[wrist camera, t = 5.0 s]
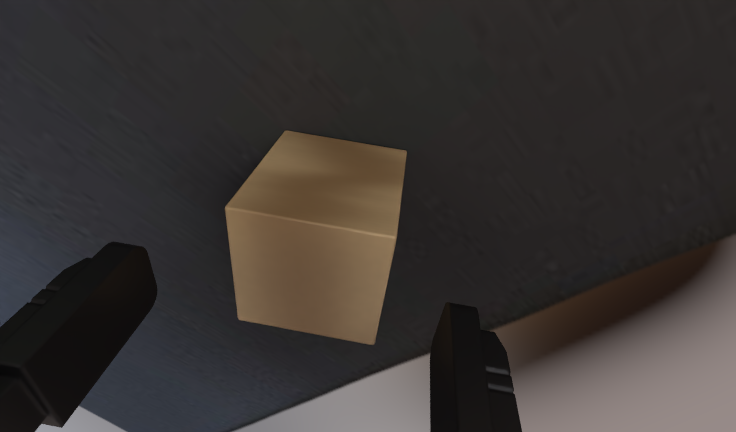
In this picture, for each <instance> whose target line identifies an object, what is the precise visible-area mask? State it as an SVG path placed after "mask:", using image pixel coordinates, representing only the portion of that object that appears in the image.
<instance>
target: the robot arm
mask: <svg viewBox="0 0 736 432" xmlns="http://www.w3.org/2000/svg"><path fill="white" fill-rule="evenodd" d="M156 296H157V285H156V281H155V278H154V274H153V270H152V267H151V263H150V260H149V256H148V253H147V250H146V249H145V248H144V247H141V246H135V245H130V244H124V243H119V242H111V243H108V244H107V245H106V246H104V247H103V248H102V249H101V250H100V251H99V252H98V253H97V254H96V255H95V256H94V257H93V258H85V259H83V260H81V261H80V262H78V263H76V264H74V265H72V266H70V267H68V268H67V269H65V270H63V271H62V272H61V273H60V274H59V275H58V276H57V277H55V278H54V279H53V280H52V281H51V282H50V283H49V284H48V285H47V286H46V289H42V290H41V291H40V292H39V293H38V294H37V295H36V296H34V297H33V298H32V301H31V302H30V303H27V304H26V305H24V306H23V307H22V308H21V309H20V310H19V311H18V312H17V313H16V314H14V315H13V316H12V317H11V318H10V319H9V320H8V321H7V322H6V323H5V324H3V325H2V326H1V327H0V432H35V431H36V429H37V428H38V427H39V426H40V425H41V424H46V425H51V426H57V427H61V428H62V427H63V426H64V424H65V423H66V422H67V420H68V419H69V418H70V416H71V415H72V414H73V412H74V411H75V410H76V408H77V407H78V406H79V404H80V403H81V402H82V400H83V399H84V398H85V396H86V395H87V394H88V392H89V391H90V390H91V388H92V387H93V386H94V384H95V383H96V382H97V380H98V379H99V378H100V376H101V375H102V374H103V372H104V371H105V370H106V368H107V367H108V366H109V364H110V363H111V362H112V360H113V359H114V358H115V356H116V355H117V354H118V352H119V351H120V350H121V348H122V347H123V346H124V345H125V343H126V342H127V341H128V339H129V338H130V337H131V335H132V334H133V333H134V331H135V330H136V329H137V327H138V326H139V325H140V323H141V322H142V321H143V319H144V318H145V317H146V315H147V314H148V313H149V311H150V310H151V308H152V307H153V305H154V303H155V300H156ZM513 391H514V388H513V383H512V378H511V376H510V367H509V362H508V357H507V352H506V350H505V348H504V347H503V345H502V343H501V342H500V340H499V339H498V337H497V335H496V334H495V332H490V331H485V330H480V322H479V315H478V311H477V308H476V307H471V306H465V305H460V304H454V303H448V302H447V303H446V304H445V307H444V309H443V312H442V315H441V318H440V321H439V323H438V326H437V329H436V332H435V335H434V338H433V341H432V346H431V354H430V418H431V421H430V422H431V432H522V429H521V424H520V419H519V414H518V409H517V404H516V398H515V394H513Z"/></svg>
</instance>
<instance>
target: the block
mask: <svg viewBox="0 0 736 432" xmlns="http://www.w3.org/2000/svg"><path fill="white" fill-rule="evenodd" d="M406 156H407V151H405V150H399V149H393V148H387V147H381V146H375V145H369V144H364V143H358V142H352V141H346V140H340V139H334V138H328V137H322V136H316V135H310V134H304V133H299V132H293V131H287V130H286V131H284V133H283V134H282V135H281V136H280V138H279V139H278V140H277V141H276V143H275V144H274V145H273V147H272V148H271V149H270V150H269V152H268V153H267V154H266V155H265V157H264V158H263V159H262V161H261V162H260V163H259V164H258V166H257V167H256V168H255V170H254V171H253V172H252V173H251V175H250V176H249V177H248V178H247V180H246V181H245V182H244V184H243V185H242V186H241V187H240V189H239V190H238V191H237V193H236V194H235V195H234V196H233V198H232V199H231V200H230V201H229V203H228V204H227V205H226V207H225V213H226V221H227V230H228V238H229V246H230V255H231V263H232V272H233V280H234V288H235V297H236V305H237V314H238V319H239V320H243V321H248V322H253V323H259V324H264V325H269V326H274V327H280V328H285V329H290V330H295V331H301V332H306V333H311V334H317V335H322V336H327V337H332V338H338V339H343V340H348V341H353V342H359V343H364V344H369V345H374V343H375V339H376V334H377V330H378V325H379V320H380V315H381V311H382V306H383V301H384V296H385V292H386V287H387V282H388V277H389V273H390V268H391V263H392V258H393V253H394V249H395V244H396V239H397V231H398V223H399V215H400V206H401V198H402V189H403V181H404V173H405V164H406Z"/></svg>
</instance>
